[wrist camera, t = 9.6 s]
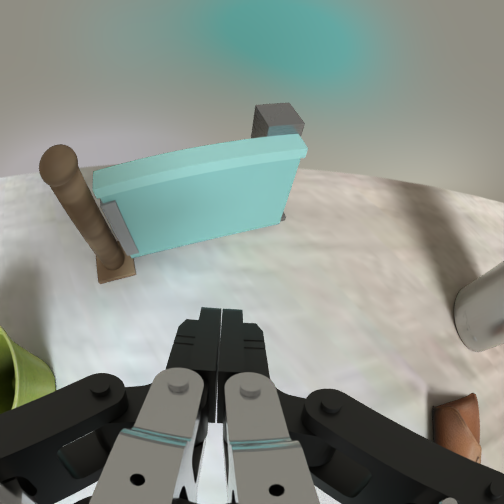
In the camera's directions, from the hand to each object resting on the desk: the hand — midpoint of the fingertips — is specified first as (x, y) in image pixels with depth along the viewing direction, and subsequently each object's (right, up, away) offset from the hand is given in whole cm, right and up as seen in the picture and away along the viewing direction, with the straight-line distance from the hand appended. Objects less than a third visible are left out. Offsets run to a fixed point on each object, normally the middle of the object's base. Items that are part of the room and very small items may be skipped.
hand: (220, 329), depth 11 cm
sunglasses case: (+24, -22, +10) cm, 34 cm away
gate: (-3, +5, +18) cm, 19 cm away
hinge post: (-13, +2, +17) cm, 21 cm away
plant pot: (-21, -11, +10) cm, 25 cm away
